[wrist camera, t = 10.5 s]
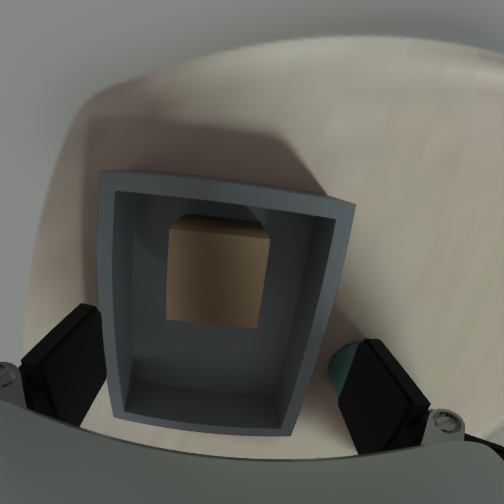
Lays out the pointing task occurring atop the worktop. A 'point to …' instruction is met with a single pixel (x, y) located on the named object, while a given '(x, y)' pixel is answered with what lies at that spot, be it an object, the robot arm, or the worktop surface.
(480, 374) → the worktop surface
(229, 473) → the robot arm
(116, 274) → the tote
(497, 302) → the worktop surface
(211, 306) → the walnut cube
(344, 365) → the teal cylinder
